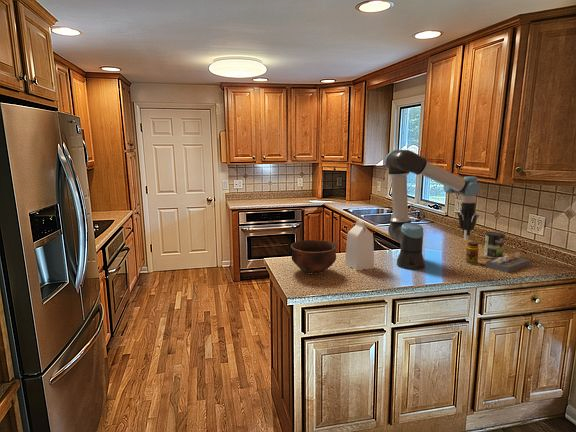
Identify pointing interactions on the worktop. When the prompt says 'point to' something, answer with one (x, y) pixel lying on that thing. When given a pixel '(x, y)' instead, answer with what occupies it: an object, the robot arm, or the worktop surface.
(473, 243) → the condiment
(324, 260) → the bowl
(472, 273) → the worktop surface
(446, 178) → the robot arm
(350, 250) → the milk
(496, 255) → the coffee can
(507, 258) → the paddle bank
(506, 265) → the switch panel
